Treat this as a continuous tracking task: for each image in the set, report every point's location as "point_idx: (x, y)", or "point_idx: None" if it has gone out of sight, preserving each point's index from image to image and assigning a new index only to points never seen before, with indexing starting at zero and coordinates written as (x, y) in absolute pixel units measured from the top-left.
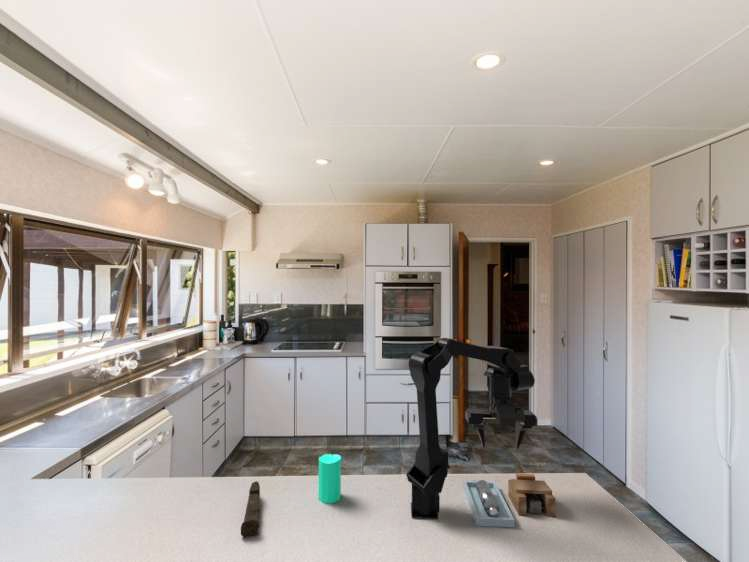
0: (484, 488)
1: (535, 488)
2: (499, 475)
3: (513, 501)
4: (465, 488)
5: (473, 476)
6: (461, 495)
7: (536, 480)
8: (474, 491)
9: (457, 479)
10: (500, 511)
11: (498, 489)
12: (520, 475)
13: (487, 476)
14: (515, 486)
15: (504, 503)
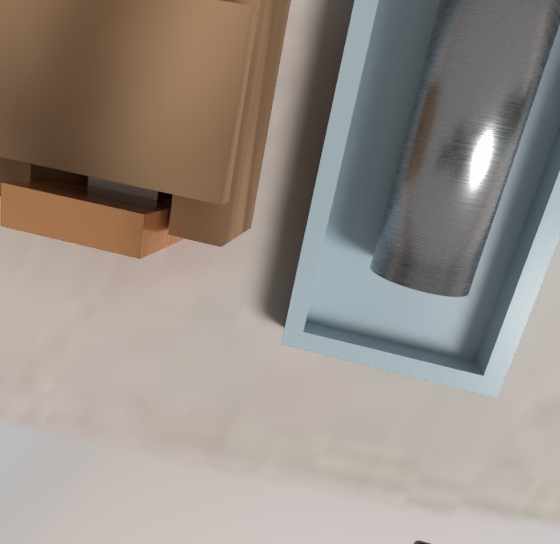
0: (483, 154)
1: (74, 12)
2: (196, 453)
3: (265, 111)
4: (529, 306)
5: (353, 474)
6: (551, 282)
7: (16, 158)
8: (450, 297)
9: (472, 464)
10: (402, 25)
11: (304, 250)
12: (113, 214)
13: (269, 457)
14: (230, 68)
15: (355, 56)
